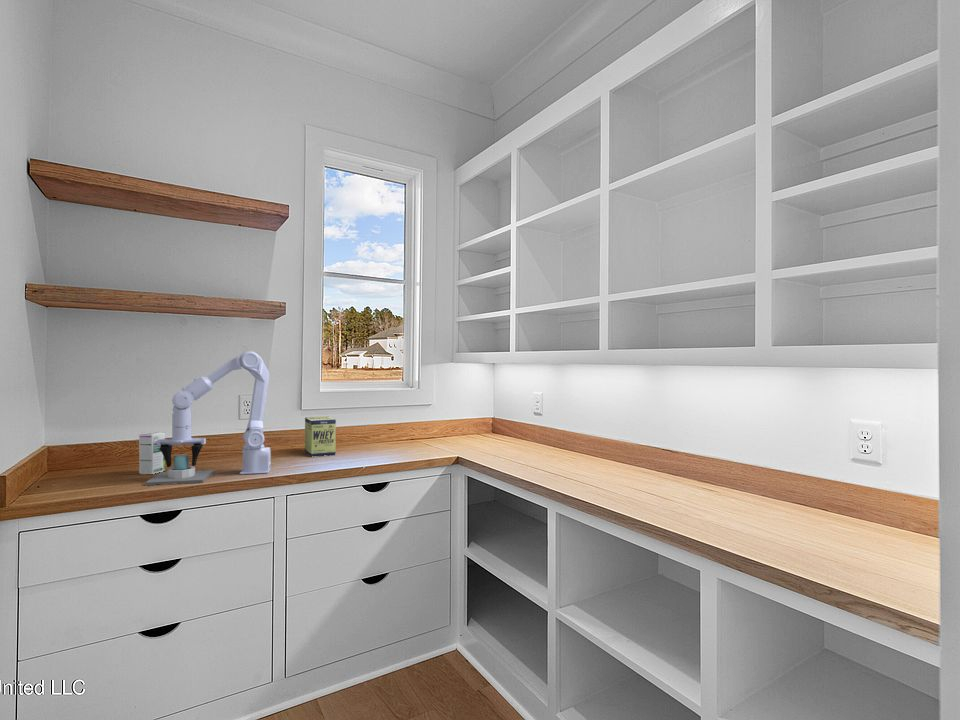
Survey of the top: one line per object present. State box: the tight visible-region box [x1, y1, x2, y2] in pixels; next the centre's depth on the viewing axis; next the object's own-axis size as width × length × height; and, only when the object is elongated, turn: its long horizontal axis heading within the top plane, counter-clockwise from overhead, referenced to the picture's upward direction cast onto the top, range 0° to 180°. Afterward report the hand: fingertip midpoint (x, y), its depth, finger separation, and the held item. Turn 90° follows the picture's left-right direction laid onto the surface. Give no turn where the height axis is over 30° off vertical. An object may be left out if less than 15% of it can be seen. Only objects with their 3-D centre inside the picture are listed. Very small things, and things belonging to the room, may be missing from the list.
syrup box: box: [138, 431, 166, 475], centre depth 186 cm, size 6×6×14 cm
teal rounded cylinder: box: [173, 454, 190, 470], centre depth 176 cm, size 4×4×7 cm
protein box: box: [304, 416, 337, 458], centre depth 227 cm, size 10×16×16 cm
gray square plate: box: [144, 465, 215, 486], centre depth 177 cm, size 17×16×4 cm
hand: (181, 465), depth 177 cm, fingers open, 7 cm apart
